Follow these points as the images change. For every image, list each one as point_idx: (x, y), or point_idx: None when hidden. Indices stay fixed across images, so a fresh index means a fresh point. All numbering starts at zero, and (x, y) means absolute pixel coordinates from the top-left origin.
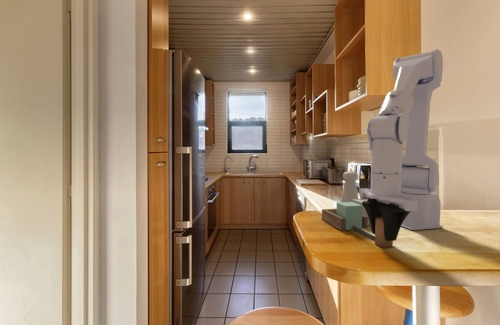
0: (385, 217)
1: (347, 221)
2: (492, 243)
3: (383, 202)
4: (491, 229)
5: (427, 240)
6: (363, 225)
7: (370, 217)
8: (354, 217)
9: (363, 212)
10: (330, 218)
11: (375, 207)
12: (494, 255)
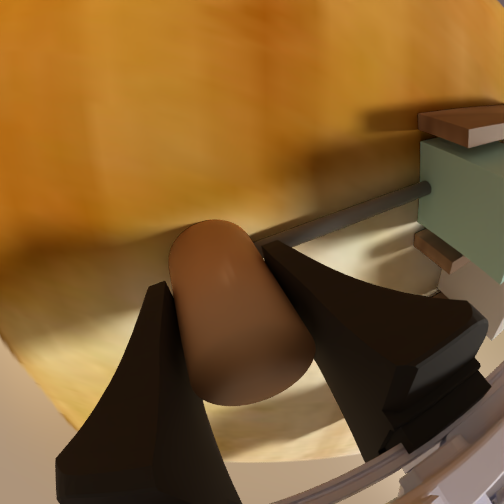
0: (120, 407)
1: (453, 164)
2: (249, 460)
3: (308, 492)
4: (323, 456)
5: None
6: (428, 237)
7: (327, 291)
8: (464, 211)
9: (482, 270)
10: (497, 113)
11: (362, 391)
12: None
